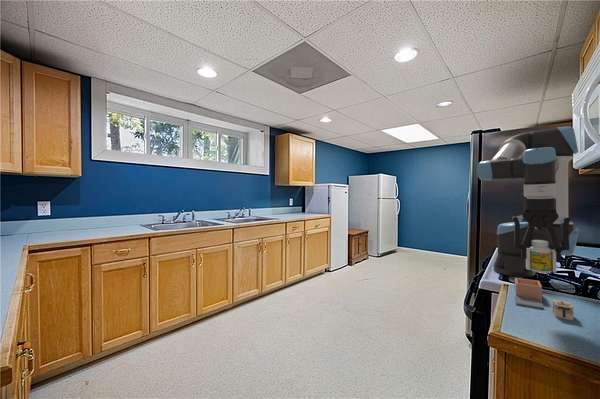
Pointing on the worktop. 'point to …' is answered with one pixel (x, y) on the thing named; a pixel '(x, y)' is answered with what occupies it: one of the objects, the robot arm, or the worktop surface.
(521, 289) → the pink square bin
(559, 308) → the letter cube
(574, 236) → the robot arm
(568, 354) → the worktop surface
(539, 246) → the supplement bottle
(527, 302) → the slate coaster
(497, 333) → the worktop surface
